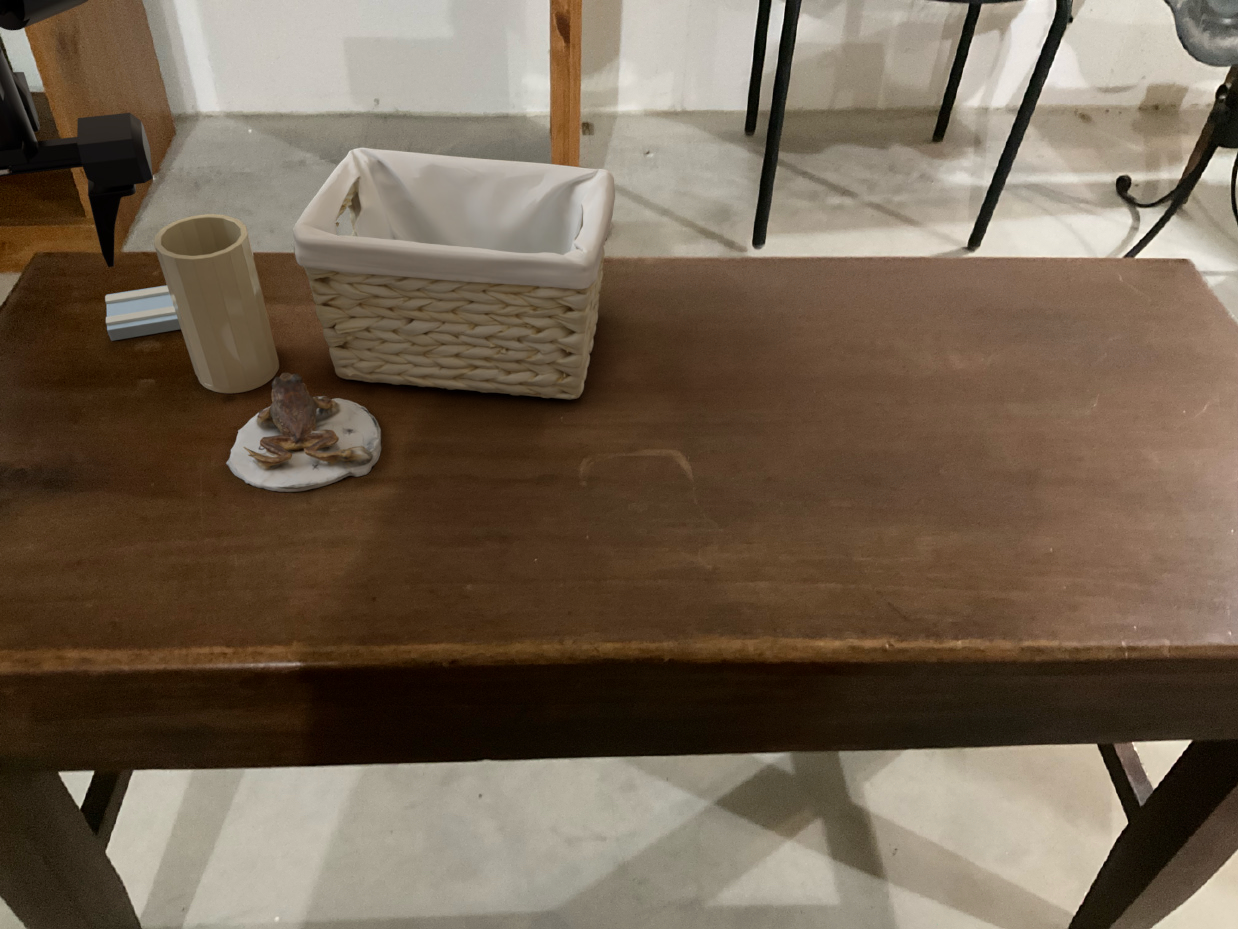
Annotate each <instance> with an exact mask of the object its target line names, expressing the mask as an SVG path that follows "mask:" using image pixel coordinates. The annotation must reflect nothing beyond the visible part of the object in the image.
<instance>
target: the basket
mask: <svg viewBox="0 0 1238 929" xmlns="http://www.w3.org/2000/svg"><path fill="white" fill-rule="evenodd" d="M615 200H616V189H615V178H614V175H613V174H612V173H611V172H610V171H609V170H607V168H606V169H605V168H588V167H580V166H572V165H564V164H563V165H562V164H553V163H543V162H531V161H530V162H529V161H518V160H517V161H516V160H501V159H489V158H477V157H476V158H475V157H466V156H465V157H464V156H455V155H454V156H453V155H442V154H433V153H432V154H431V153H425V152H423V153H422V152H411V151H401V150H391V149H380V148H379V149H378V148H369V147H356V148H353V149H350V150H349V151H348V153H347V155H346V156H345V157H344V158H343V159H342V160H341V161H340V162H339V163H338V164H337V166H336V167H335V168H334V170H333V171H332V172H331V173H330V175H329V176H328V178H327V179H326V180H325V182H324V183H323V185H322V186H321V187H320V188H319V190H318V191H317V193H316V194H315V195H314V197H313V198H312V199H311V201H310V202H309V203H308V205H307V206H306V207H305V209H304V210H303V211H302V213H301V215H300V216H299V217H298V219H297V221H296V222H295V224H294V226H293V228H292V236H293V239H294V255H295V260H296V263H297V264H298V265H299V266H300V267H303V269H304V270H305V272H306V275H307V278H308V282H309V283H308V284H309V288H310V290H311V292H312V295H311V296H312V299H313V302H314V304H315V313H316V314H315V315H316V318H317V320H318V321H319V322H320V323H321V327H322V335H323V339H324V340H325V342H326V343H327V345H328V347H329V348H328V352H329V356H330V359H331V362H332V365H333V367H334V372H335V374H336V376H337V377H339V378H341V379H345V380H352V381H360V382H366V383H371V384H372V383H385V384H391V385H395V386H399V385H407V386H417V387H420V388H425V387H427V388H440V389H446V390H450V391H451V390H463V391H474V392H480V393H485V394H488V393H497V394H508V395H510V396H529V397H539V398H543V399H550V398H552V399H562V400H569V401H571V400H575V399H577V400H578V399H579V398H580V397H581V395H582V394H583V392H584V389H585V381H586V379H587V375H588V367H589V365H590V361H591V355H590V354H591V353H592V351H593V348H594V343H595V342H594V337H595V334H596V331H597V323H598V319H599V307H600V301H599V300H600V297H601V296H600V295H601V294H600V292H601V290H602V281H603V277H604V270H603V268H604V261H605V254H606V253H605V245H606V242H607V241H608V235H609V232H610V226H611V223H612V221H613V215H614V208H615ZM346 209H348V210H349V214H350V216H349V220H350V224H351V227H352V232H351V234H350V235H338V230H337V228H338V227H339V225H340V222H338V219H339V218H340V216H342V215H343V214H344V212H345V211H346Z"/></svg>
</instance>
